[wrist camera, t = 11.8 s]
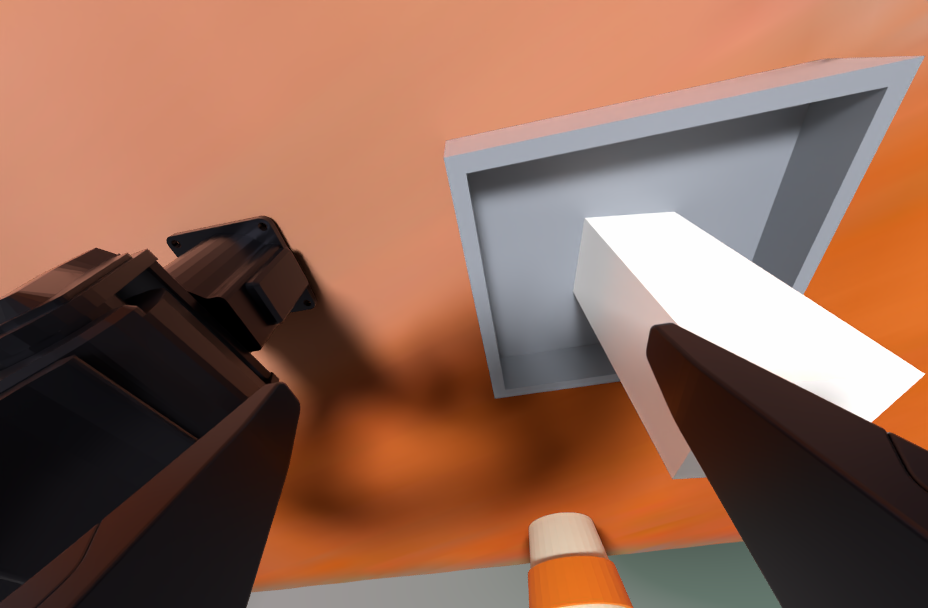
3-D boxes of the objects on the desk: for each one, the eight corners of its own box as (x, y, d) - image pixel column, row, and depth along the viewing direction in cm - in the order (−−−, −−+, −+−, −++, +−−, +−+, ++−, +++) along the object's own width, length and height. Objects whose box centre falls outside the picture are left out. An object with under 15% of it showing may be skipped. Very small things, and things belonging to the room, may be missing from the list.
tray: (489, 357, 26) (495, 398, 23) (445, 140, 17) (443, 157, 14) (727, 321, 24) (769, 360, 21) (823, 59, 15) (924, 55, 12)
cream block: (573, 291, 21) (672, 478, 12) (584, 217, 18) (731, 385, 9) (650, 286, 21) (816, 471, 11) (674, 211, 18) (924, 374, 9)
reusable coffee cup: (586, 497, 41) (642, 679, 29) (618, 529, 47) (675, 690, 35) (499, 522, 45) (516, 692, 32) (539, 549, 51) (565, 700, 39)
